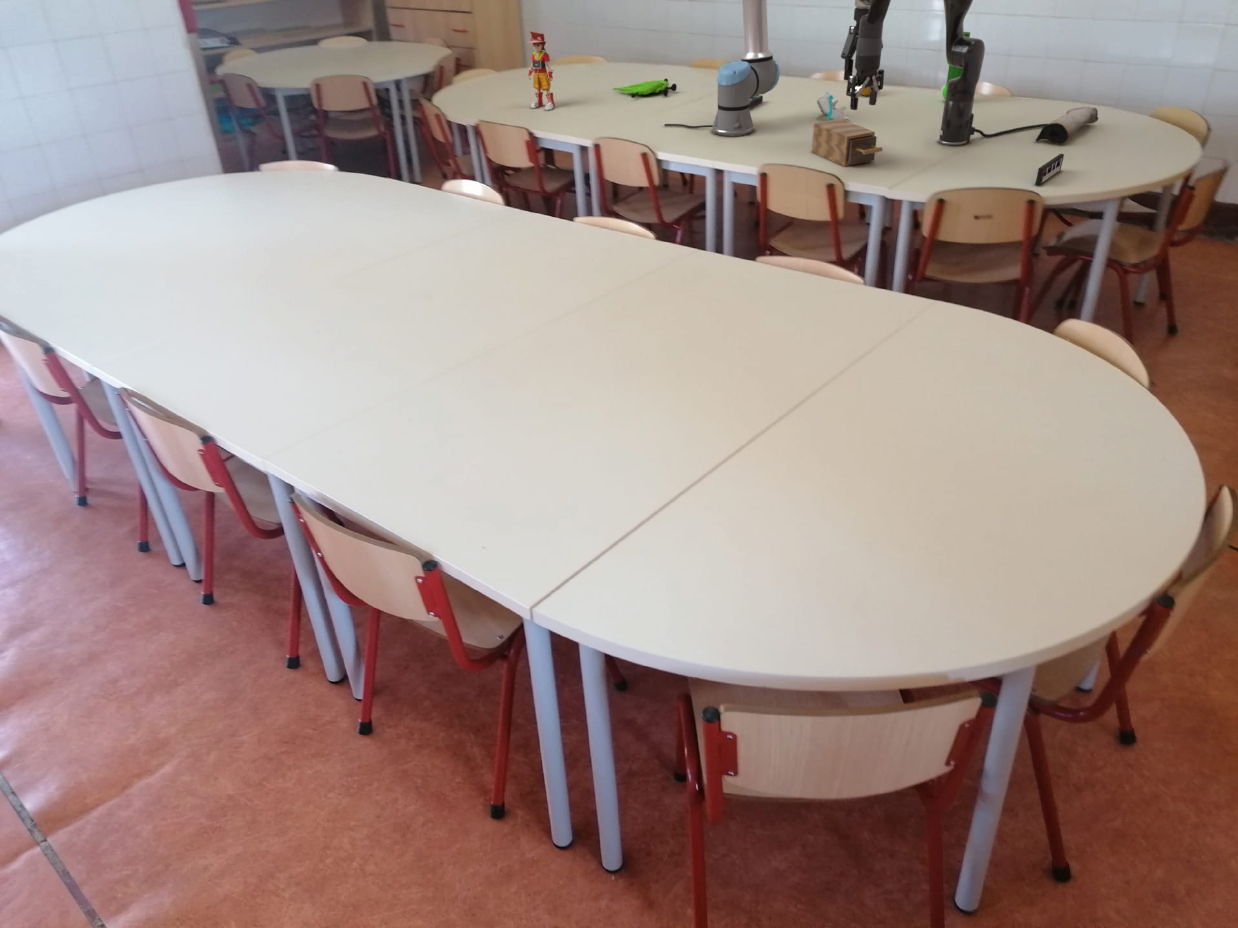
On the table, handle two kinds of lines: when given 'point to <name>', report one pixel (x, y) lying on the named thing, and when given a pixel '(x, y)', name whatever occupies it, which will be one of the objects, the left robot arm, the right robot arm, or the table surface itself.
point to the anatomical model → (831, 108)
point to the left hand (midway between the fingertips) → (859, 76)
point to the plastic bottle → (954, 71)
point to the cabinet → (836, 139)
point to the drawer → (862, 149)
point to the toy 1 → (541, 71)
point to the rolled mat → (1068, 125)
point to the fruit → (865, 91)
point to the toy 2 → (648, 88)
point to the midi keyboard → (1049, 169)
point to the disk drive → (755, 100)
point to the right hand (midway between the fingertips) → (863, 107)
